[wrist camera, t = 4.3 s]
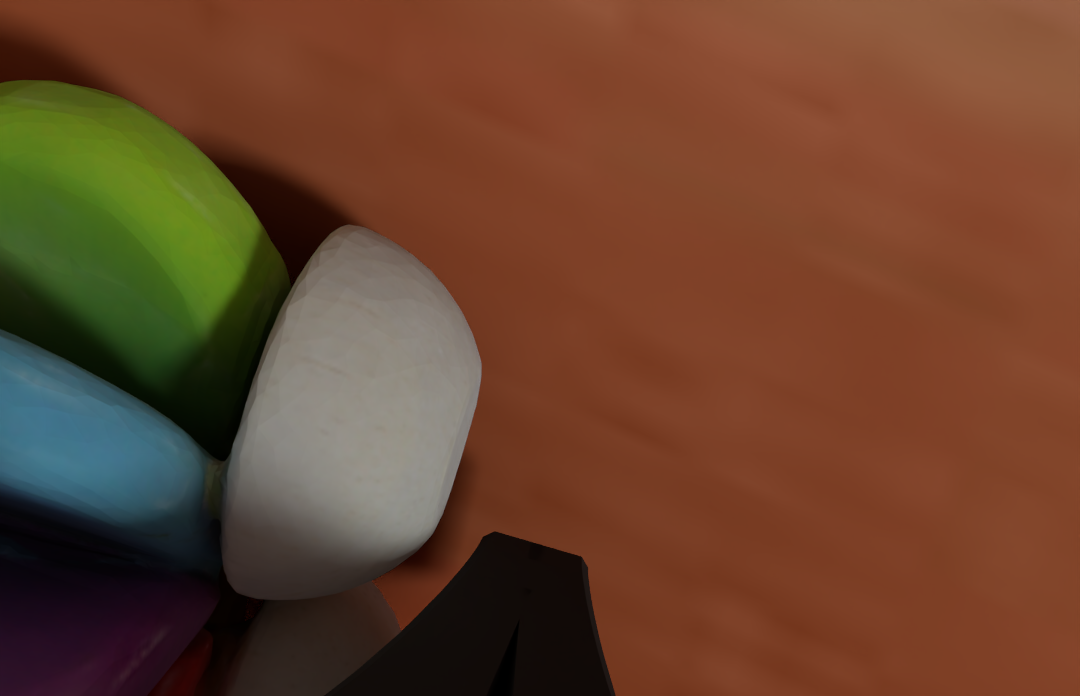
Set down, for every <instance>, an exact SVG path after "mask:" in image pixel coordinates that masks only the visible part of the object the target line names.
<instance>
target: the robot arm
mask: <svg viewBox="0 0 1080 696" xmlns="http://www.w3.org/2000/svg"><path fill="white" fill-rule="evenodd" d="M324 696H615V692H614V689H613V685H612V682H611V678H610V675H609V672H608V668H607V665H606V661H605V658H604V654H603V651H602V647H601V643H600V639H599V634H598V630H597V625H596V621H595V616H594V611H593V606H592V601H591V594H590V587H589V579H588V567H587V565H586V564H585V562H584V560H583V558H582V557H581V556H577V555H574V554H570V553H567V552H564V551H560V550H557V549H553V548H550V547H546V546H543V545H540V544H536V543H533V542H529V541H526V540H523V539H519V538H516V537H512V536H509V535H505V534H502V533H499V532H492V533H490V534H488V535H486V536H484V537H483V538H482V540H481V542H480V544H479V545H478V547H477V548H476V550H475V551H474V553H473V554H472V555H471V557H470V558H469V559H468V561H467V562H466V563H465V565H464V566H463V567H462V568H461V569H460V571H459V572H458V573H457V574H456V575H455V576H454V578H453V579H452V580H451V581H450V582H449V583H448V584H447V586H446V587H445V588H444V589H443V590H442V591H441V592H440V593H439V594H438V595H437V596H436V597H435V598H434V599H433V600H432V601H431V602H430V603H429V604H428V605H427V606H426V607H425V608H424V609H423V610H422V611H421V613H420V614H419V615H418V616H417V617H416V618H415V619H414V620H413V621H412V622H411V623H410V624H409V625H408V626H406V627H405V628H404V629H403V630H402V631H401V632H400V633H399V634H398V635H397V636H396V637H394V638H393V639H392V640H391V641H390V642H389V643H387V644H386V645H385V646H384V647H383V648H382V649H381V650H379V651H378V652H377V653H376V654H375V655H374V656H373V657H371V658H370V659H369V660H368V661H367V662H366V663H365V664H363V665H362V666H361V667H360V668H359V669H357V670H356V671H355V672H354V673H353V674H351V675H350V676H349V677H347V678H346V679H345V680H344V681H342V682H341V683H340V684H339V685H337V686H336V687H335V688H333V689H332V690H331V691H329V692H328V693H327V694H325V695H324Z"/></svg>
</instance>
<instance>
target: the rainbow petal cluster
mask: <svg viewBox="0 0 1080 696" xmlns="http://www.w3.org/2000/svg"><path fill="white" fill-rule="evenodd" d="M480 382H481V360H480V356H479V352H478V349H477V346H476V343H475V340H474V337H473V334H472V332H471V330H470V328H469V325H468V323H467V321H466V319H465V317H464V315H463V313H462V311H461V310H460V308H459V306H458V305H457V303H456V302H455V300H454V299H453V297H452V296H451V295H450V293H449V292H448V290H447V289H446V287H445V286H444V285H443V284H442V283H441V282H440V281H439V279H438V278H437V277H436V276H435V275H434V274H433V273H432V272H431V270H430V269H428V268H427V267H426V266H425V265H424V264H423V263H422V262H420V261H419V260H418V259H417V258H416V257H415V256H413V255H412V254H411V253H409V252H408V251H406V250H405V249H404V248H402V247H401V246H399V245H398V244H396V243H394V242H393V241H391V240H389V239H388V238H386V237H384V236H382V235H380V234H378V233H376V232H374V231H372V230H370V229H368V228H366V227H361V226H355V225H349V224H348V225H345V226H342V227H340V228H338V229H336V230H335V231H333V232H332V233H330V234H329V236H328V237H327V238H326V239H325V240H324V241H323V242H322V243H321V245H320V246H319V247H318V249H317V250H316V251H315V252H314V254H313V255H312V256H311V258H310V259H309V261H308V262H307V264H306V266H305V267H304V269H303V270H302V272H301V273H300V275H299V276H298V278H297V280H296V282H295V283H294V285H293V287H292V289H291V285H290V279H289V275H288V272H287V268H286V265H285V263H284V261H283V259H282V257H281V255H280V253H279V252H278V250H277V249H276V248H275V246H274V245H273V243H272V241H271V240H270V238H269V236H268V234H267V232H266V230H265V228H264V227H263V225H262V224H261V222H260V221H259V219H258V218H257V216H256V215H255V213H254V211H253V210H252V208H251V207H250V206H249V204H248V203H247V202H246V200H245V199H244V198H243V197H242V195H241V194H240V193H239V192H238V190H237V189H236V188H235V187H234V185H233V184H232V183H231V182H230V181H229V180H228V179H227V177H226V176H225V175H224V174H223V173H222V172H221V171H220V170H219V169H218V167H217V166H216V165H215V164H214V163H213V162H212V161H211V160H210V159H209V158H208V157H207V156H206V155H205V154H204V153H203V152H202V151H201V150H199V149H198V148H197V147H196V146H195V145H194V144H193V143H192V142H191V141H190V140H188V139H187V138H186V137H185V136H183V135H182V134H181V133H180V132H178V131H177V130H176V129H174V128H173V127H172V126H170V125H169V124H167V123H166V122H164V121H163V120H161V119H160V118H158V117H157V116H155V115H153V114H152V113H150V112H149V111H147V110H146V109H144V108H142V107H140V106H138V105H136V104H134V103H132V102H130V101H128V100H126V99H124V98H122V97H120V96H118V95H114V94H111V93H107V92H104V91H101V90H97V89H93V88H88V87H83V86H78V85H73V84H68V83H63V82H58V81H45V80H18V81H8V82H3V83H0V696H324V695H325V694H327V693H328V692H329V691H331V690H332V689H333V688H335V687H336V686H337V685H339V684H340V683H341V682H342V681H344V680H345V679H346V678H347V677H349V676H350V675H351V674H353V673H354V672H355V671H356V670H357V669H359V668H360V667H361V666H362V665H363V664H365V663H366V662H367V661H368V660H369V659H370V658H371V657H373V656H374V655H375V654H376V653H377V652H378V651H379V650H381V649H382V648H383V647H384V646H385V645H386V644H387V643H389V642H390V641H391V640H392V639H393V638H394V637H396V636H397V635H398V634H399V633H400V632H401V630H400V627H399V624H398V622H397V619H396V616H395V613H394V612H393V610H392V609H391V607H390V606H389V604H388V603H387V602H386V600H385V599H384V597H383V595H382V593H381V592H380V590H379V589H378V588H377V586H376V585H375V584H374V583H373V582H372V580H374V579H376V578H378V577H380V576H381V575H383V574H385V573H387V572H388V571H390V570H392V569H394V568H395V567H396V566H398V565H399V564H401V563H402V562H403V561H405V560H406V559H407V558H409V557H410V556H412V555H413V554H414V553H416V552H417V551H418V550H419V549H420V548H421V547H422V546H423V544H424V543H425V542H426V541H427V540H428V539H429V538H430V537H431V535H432V534H433V532H434V530H435V529H436V527H437V525H438V523H439V521H440V519H441V517H442V515H443V512H444V509H445V506H446V504H447V501H448V498H449V495H450V492H451V489H452V486H453V482H454V479H455V476H456V473H457V470H458V466H459V463H460V460H461V457H462V453H463V450H464V446H465V443H466V439H467V436H468V432H469V429H470V425H471V422H472V418H473V415H474V411H475V408H476V404H477V399H478V393H479V388H480ZM247 596H248V597H252V598H255V599H264V602H263V604H262V607H261V608H260V610H259V611H258V612H257V614H256V615H255V617H254V618H252V619H249V620H246V621H244V616H245V611H246V603H247Z"/></svg>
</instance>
